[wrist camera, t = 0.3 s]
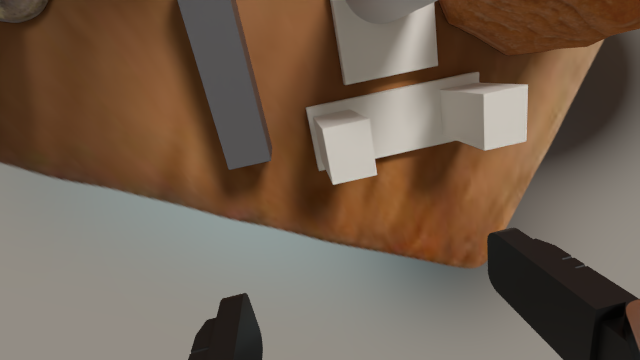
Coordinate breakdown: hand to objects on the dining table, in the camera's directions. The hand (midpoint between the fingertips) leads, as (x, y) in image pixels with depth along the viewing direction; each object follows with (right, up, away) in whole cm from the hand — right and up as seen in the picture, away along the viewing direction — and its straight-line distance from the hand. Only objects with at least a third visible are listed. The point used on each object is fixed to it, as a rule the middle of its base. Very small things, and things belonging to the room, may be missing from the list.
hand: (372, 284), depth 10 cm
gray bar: (-11, +15, +22) cm, 29 cm away
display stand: (+5, +17, +23) cm, 29 cm away
